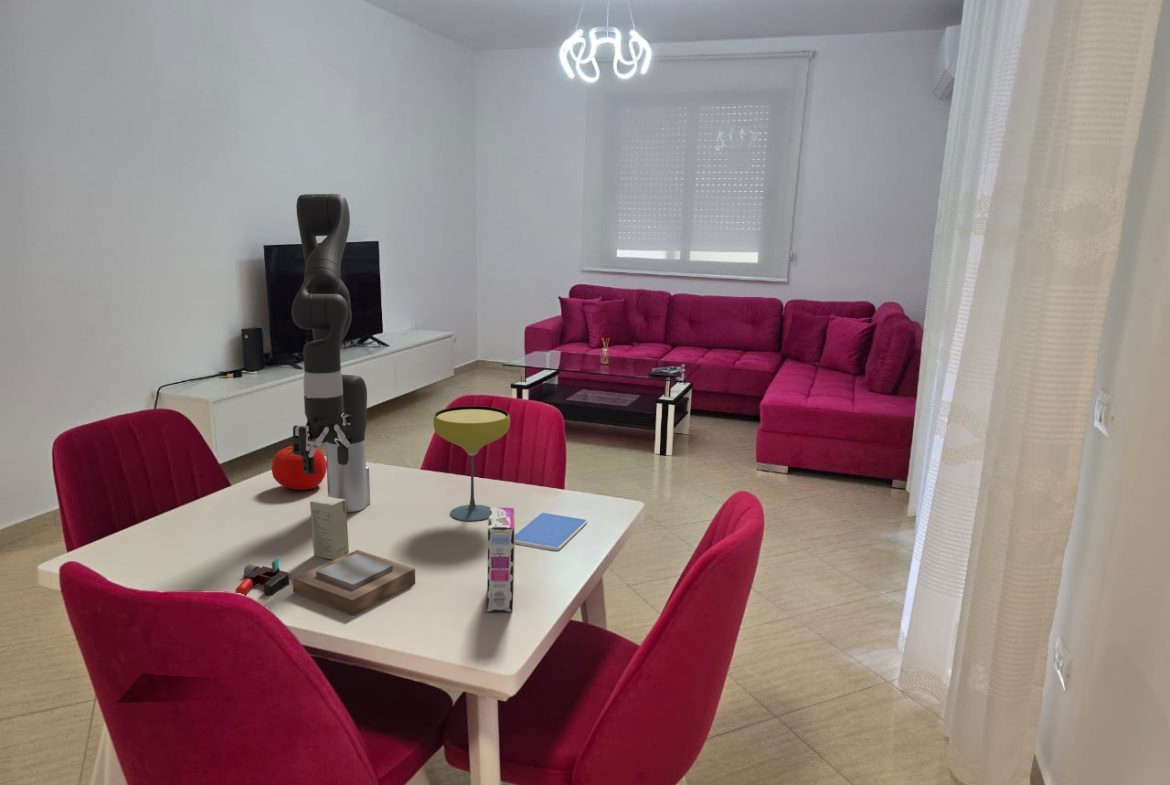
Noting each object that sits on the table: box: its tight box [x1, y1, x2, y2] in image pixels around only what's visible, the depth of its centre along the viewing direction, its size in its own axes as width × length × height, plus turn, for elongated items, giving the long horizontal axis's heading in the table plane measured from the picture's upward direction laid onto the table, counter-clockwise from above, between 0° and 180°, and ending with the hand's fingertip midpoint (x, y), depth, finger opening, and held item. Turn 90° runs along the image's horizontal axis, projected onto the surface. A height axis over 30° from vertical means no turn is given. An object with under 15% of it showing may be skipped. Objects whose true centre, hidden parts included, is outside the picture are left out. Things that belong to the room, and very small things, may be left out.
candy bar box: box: [486, 507, 516, 613], centre depth 146 cm, size 11×5×16 cm, turn 5°
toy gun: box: [235, 555, 290, 597], centre depth 150 cm, size 10×12×5 cm
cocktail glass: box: [433, 405, 511, 522], centre depth 188 cm, size 18×18×25 cm
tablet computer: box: [515, 512, 589, 552], centre depth 181 cm, size 19×13×1 cm, turn 160°
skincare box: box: [309, 495, 350, 561], centre depth 164 cm, size 6×4×12 cm
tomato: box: [271, 445, 327, 491], centre depth 205 cm, size 13×14×12 cm
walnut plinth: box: [292, 549, 416, 616], centre depth 150 cm, size 16×16×4 cm
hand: (326, 469), depth 161 cm, fingers open, 8 cm apart
